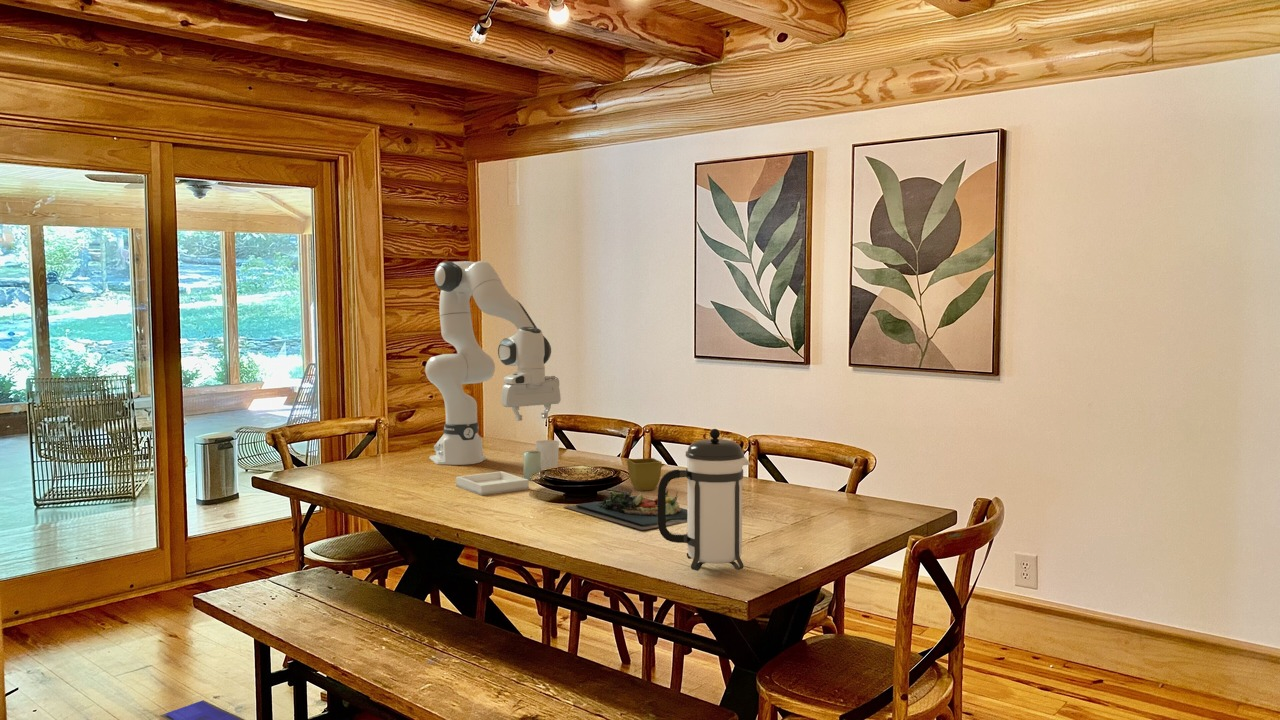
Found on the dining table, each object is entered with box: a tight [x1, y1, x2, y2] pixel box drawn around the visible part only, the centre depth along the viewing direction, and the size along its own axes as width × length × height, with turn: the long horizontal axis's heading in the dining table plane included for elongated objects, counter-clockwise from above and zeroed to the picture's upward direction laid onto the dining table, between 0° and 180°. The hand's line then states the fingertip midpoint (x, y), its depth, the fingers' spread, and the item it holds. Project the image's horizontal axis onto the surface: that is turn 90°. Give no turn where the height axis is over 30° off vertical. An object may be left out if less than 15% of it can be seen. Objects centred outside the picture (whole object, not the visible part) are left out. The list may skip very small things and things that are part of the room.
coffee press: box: [657, 428, 751, 572], centre depth 206 cm, size 17×16×30 cm
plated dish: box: [564, 489, 687, 531], centre depth 262 cm, size 35×28×7 cm
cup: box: [522, 450, 542, 482], centre depth 307 cm, size 6×6×9 cm
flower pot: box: [626, 457, 663, 492], centre depth 290 cm, size 9×9×9 cm
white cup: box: [535, 439, 560, 470], centre depth 323 cm, size 8×8×10 cm
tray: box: [455, 470, 530, 496], centre depth 293 cm, size 18×16×3 cm
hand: (531, 419), depth 306 cm, fingers open, 8 cm apart
